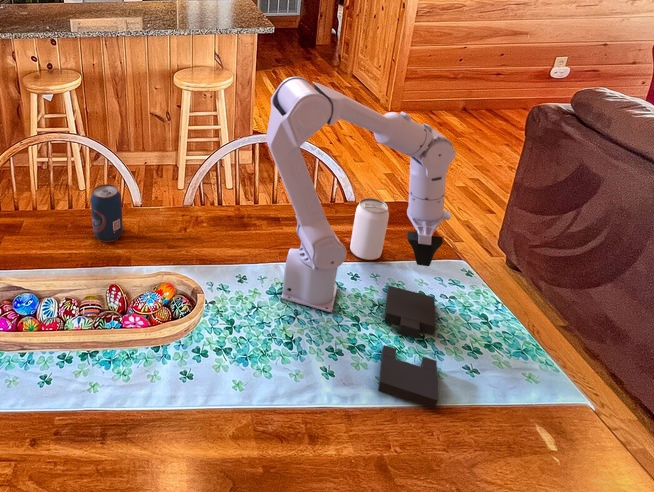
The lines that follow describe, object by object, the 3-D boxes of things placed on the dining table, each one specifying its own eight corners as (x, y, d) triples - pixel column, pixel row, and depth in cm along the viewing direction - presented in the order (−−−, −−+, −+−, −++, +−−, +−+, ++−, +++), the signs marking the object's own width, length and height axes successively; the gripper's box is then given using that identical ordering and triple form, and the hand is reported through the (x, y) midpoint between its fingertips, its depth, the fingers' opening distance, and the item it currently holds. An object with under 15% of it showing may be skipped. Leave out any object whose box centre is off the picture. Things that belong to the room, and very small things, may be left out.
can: (383, 262, 108) (393, 214, 103) (351, 259, 109) (359, 212, 104) (378, 244, 113) (387, 198, 108) (347, 241, 114) (355, 195, 110)
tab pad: (383, 328, 91) (385, 320, 90) (386, 293, 99) (388, 285, 98) (433, 343, 88) (435, 334, 87) (432, 305, 96) (434, 296, 95)
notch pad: (378, 390, 80) (380, 381, 79) (381, 353, 86) (383, 344, 85) (435, 409, 76) (437, 400, 76) (434, 369, 83) (436, 360, 82)
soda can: (87, 234, 119) (83, 190, 114) (111, 222, 123) (108, 179, 118) (105, 247, 114) (102, 202, 109) (129, 234, 119) (127, 190, 114)
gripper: (453, 217, 84) (448, 280, 90) (450, 172, 95) (446, 231, 101) (406, 212, 87) (404, 274, 93) (409, 170, 99) (407, 226, 104)
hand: (423, 251), depth 97 cm, fingers open, 7 cm apart
